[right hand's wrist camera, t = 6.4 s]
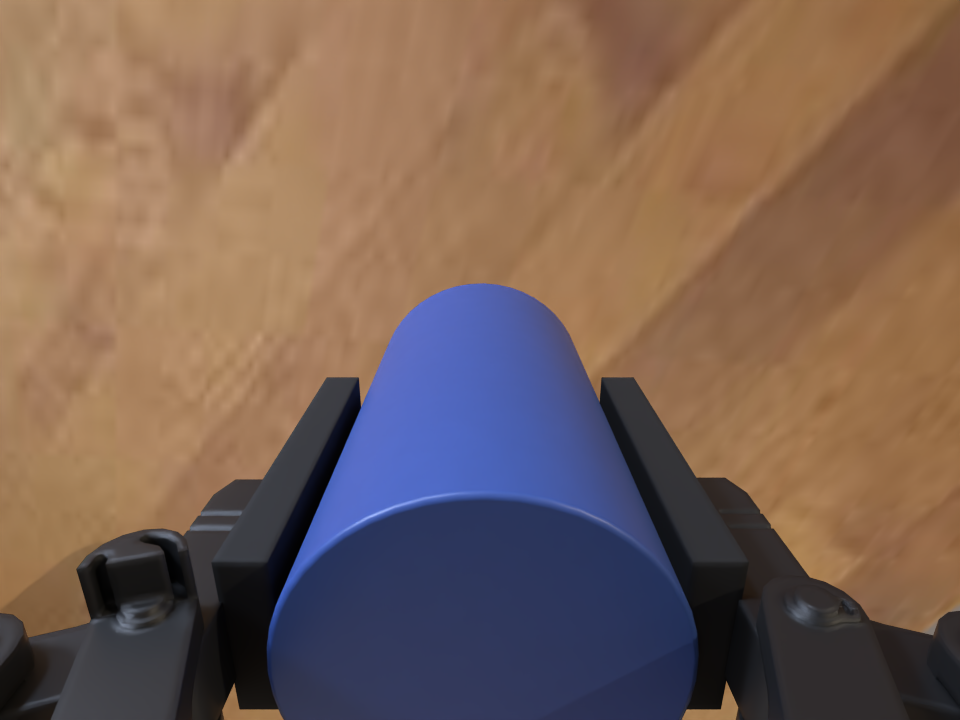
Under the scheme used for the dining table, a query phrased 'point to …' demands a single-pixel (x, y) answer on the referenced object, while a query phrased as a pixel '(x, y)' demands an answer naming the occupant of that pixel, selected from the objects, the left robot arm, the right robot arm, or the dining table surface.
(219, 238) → the dining table surface
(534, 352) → the canister
